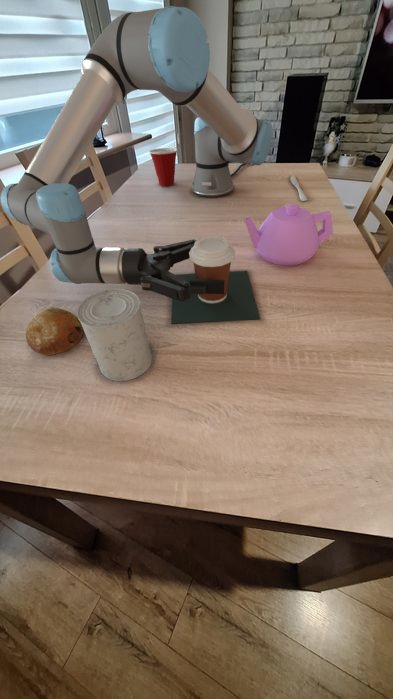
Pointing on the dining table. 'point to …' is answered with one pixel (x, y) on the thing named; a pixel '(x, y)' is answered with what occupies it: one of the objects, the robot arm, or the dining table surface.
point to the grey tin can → (116, 333)
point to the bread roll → (53, 331)
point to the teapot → (289, 234)
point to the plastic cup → (164, 164)
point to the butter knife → (295, 183)
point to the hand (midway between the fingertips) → (225, 268)
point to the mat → (230, 309)
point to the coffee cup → (212, 263)
